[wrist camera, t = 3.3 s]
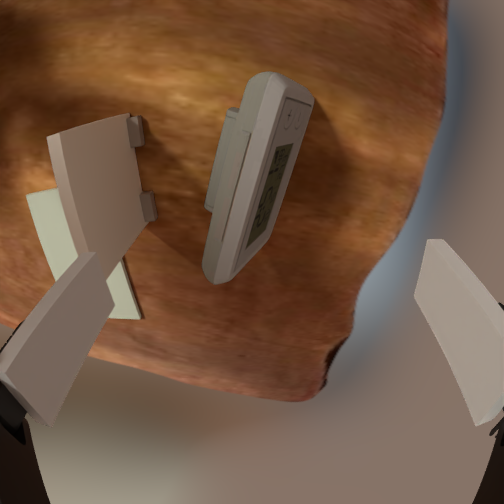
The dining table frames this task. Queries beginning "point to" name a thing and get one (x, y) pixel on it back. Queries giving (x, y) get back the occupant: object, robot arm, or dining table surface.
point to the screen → (102, 186)
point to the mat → (64, 253)
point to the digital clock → (253, 171)
